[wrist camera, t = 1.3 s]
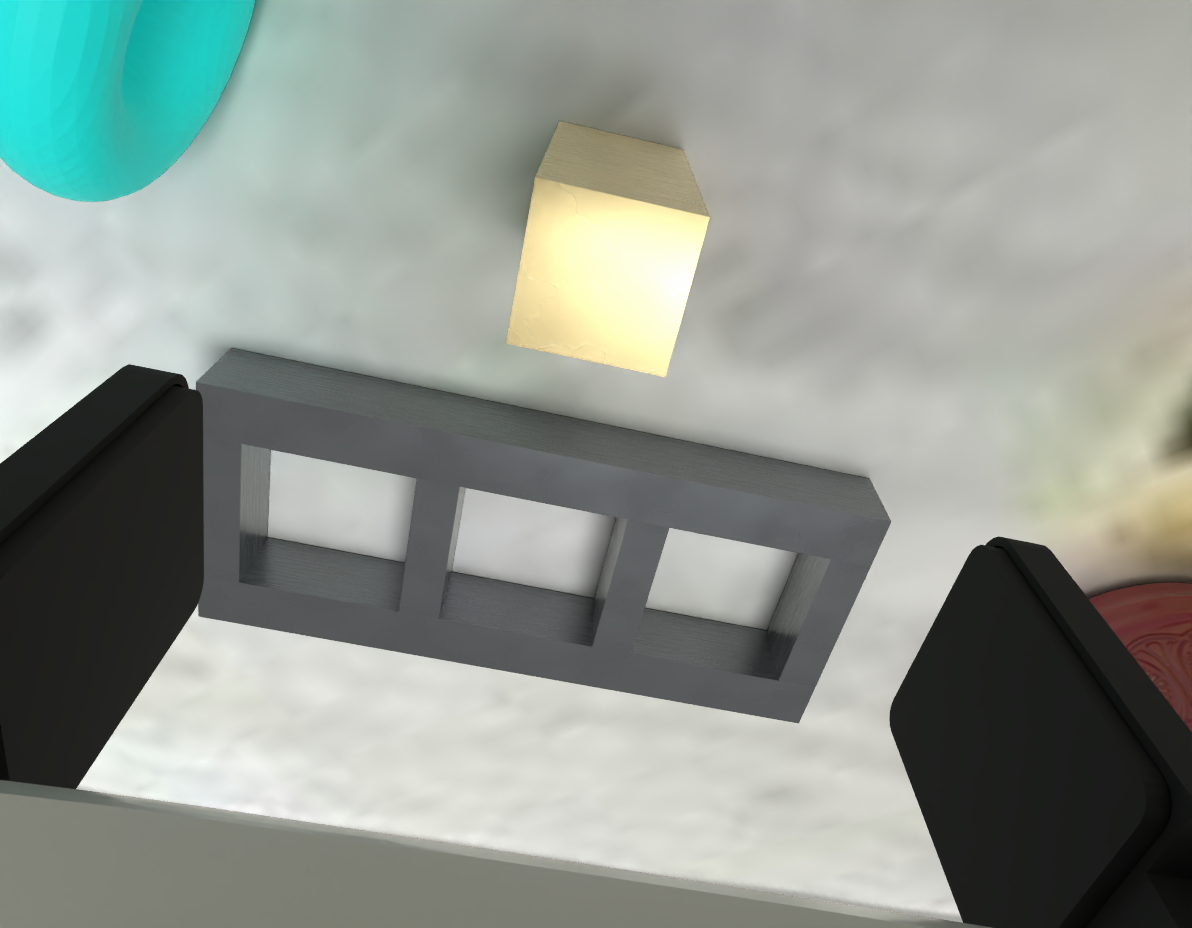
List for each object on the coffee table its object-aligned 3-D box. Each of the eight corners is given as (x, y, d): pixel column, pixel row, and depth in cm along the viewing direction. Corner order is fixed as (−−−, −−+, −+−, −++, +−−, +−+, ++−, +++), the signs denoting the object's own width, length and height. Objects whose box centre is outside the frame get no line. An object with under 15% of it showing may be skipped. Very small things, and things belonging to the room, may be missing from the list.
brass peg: (683, 149, 27) (709, 216, 19) (652, 271, 29) (665, 377, 21) (559, 120, 27) (534, 177, 19) (536, 245, 29) (506, 343, 21)
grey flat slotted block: (869, 478, 33) (891, 521, 30) (786, 671, 38) (798, 723, 35) (231, 348, 31) (195, 382, 28) (229, 569, 36) (198, 616, 33)
